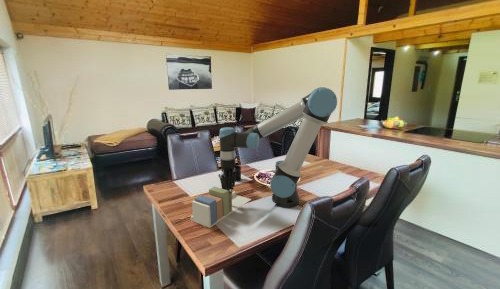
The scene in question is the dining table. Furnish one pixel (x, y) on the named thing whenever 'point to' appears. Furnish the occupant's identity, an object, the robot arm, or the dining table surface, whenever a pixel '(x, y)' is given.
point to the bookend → (230, 201)
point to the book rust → (218, 206)
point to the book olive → (223, 195)
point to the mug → (238, 173)
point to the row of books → (203, 211)
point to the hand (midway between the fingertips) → (228, 200)
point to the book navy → (212, 204)
